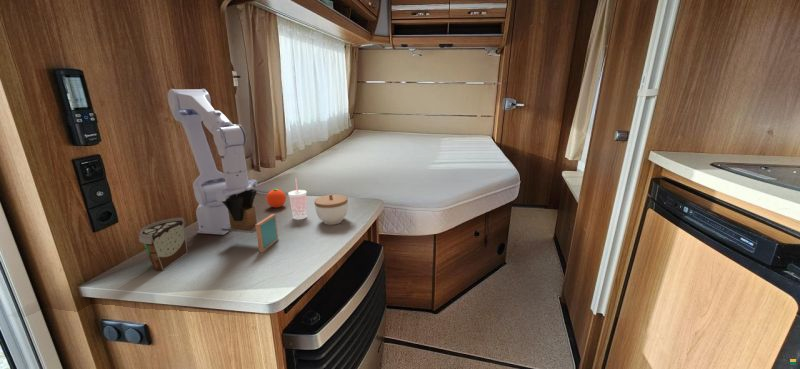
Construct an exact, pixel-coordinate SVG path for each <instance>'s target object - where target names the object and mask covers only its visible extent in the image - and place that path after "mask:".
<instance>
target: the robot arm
mask: <svg viewBox="0 0 800 369" xmlns="http://www.w3.org/2000/svg"><path fill="white" fill-rule="evenodd" d="M167 102H168V106H169V109H170V112H171V115H172V116H173V118H174V120H175V121H177V122H179V123H180V124H181V125H182V128H183V130H184V132H185V136H186V139H187V141H188V144H189V146H190V150H191V152H192V155H193V158H194V161H195V165H196V168H197V170H198V172H199V175H198V176H197V177H196V178H195V180H194V181H193V183H192V187H193V194H194V198H195V200H196V202H197V204H198V205H197V208H196V210H195V214H196V220H197V225H198V231H197V233H198V234H206V235H207V234H209V235H221V236H223V235H226V234H227V233H229V232H230V231H224V230H222V229H221V228H223V227H225V226H227V225H229V224H230V219H229V213H228V210H229V211H230V213H231V215H232V217H233V219H234V221H242V206H253V205H254V200H255V197H256V195H257V189H253V188H257V187H258V185H259V184H258V179H249V175H248V168H247V161H246V154H245V148H244V147H245V146H246V144H247V134H246V131H245V129H244V128H243V126H242V125H241V124H234V123H232V121H231V120H229V118H228V117H227V116H226V115H225V114H224V113H223V112H222V111H220V110H215V108H214V107H213V106H212V104H211V103H212V100H211V96H210V94H209V92H208V91H207V90H206V88H201V89H197V88H196V89H189V88H188V89H184V88H182V89H178V88H177V89H174V88H170V89H169V90H168V91H167ZM202 122H203V125H204V127H205V128H206V129H207V130H208V131H209V133H211V134H212V136H213V141H214V145H215V146H216V149H217V153H218V155H219V156H220V158H221V164H222V170H223V172H222V171H219V170H218V168H217V166H216V163H215V159H214V157H213V154H212V152H211V148H210V145H209V143H208V140H207V136H206V134H205V131H204V128H203V126H202Z"/></svg>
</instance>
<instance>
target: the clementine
mask: <svg viewBox="0 0 800 369" xmlns="http://www.w3.org/2000/svg"><path fill="white" fill-rule="evenodd" d="M286 198H287V196H286V194H285V192H284V191H282V190H281V189H279V188H274V189H271V190H270V191H269V192H268V193H267V194H266V202H267V205H269V206H270V207H272V208H275V209H276V208H281V207H282V206H283V205H285V203H286Z"/></svg>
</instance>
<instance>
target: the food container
mask: <svg viewBox="0 0 800 369" xmlns="http://www.w3.org/2000/svg"><path fill="white" fill-rule="evenodd" d="M185 225H186V221H185V219H184V218H183V217H174V218H168V219H164V220H159V221H156V222H153V223H150V224H148V225H146V226H144V227H142V228H141V230H140V231H139V235H138V236H139V238H138V241H139V242H140V243H141V244H143V245H144V248H145V250H146V253H147V255H148V258H149V260H150V263H151V266H152V269H153V270H154V271H158V272H159V271H160V272H164V271H165V270H167V269H168V268H169V267H171V266H172V265H173V264H175V263H176V262H177V261H179V260H181V259H182V258H183V257H184V256H186V255H187V254H189V252H188V246H187V244H188V243H187V238H186V237H187V236H186V230H185Z"/></svg>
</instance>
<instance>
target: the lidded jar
mask: <svg viewBox="0 0 800 369" xmlns="http://www.w3.org/2000/svg"><path fill="white" fill-rule="evenodd" d="M348 201H349V200H348V197H347V195H342V194H333V193H332V194H331V193H329V194H327V195H326V194H325V195H322V196H319V197H316V199H315V200H314V201H313V202H314V206H315V212H316V215H317V217H318V219H319V220H320V221H321V222H323V223H324V225H337V224H340V223H342V222H343V220H344V219H345V217H346V216H347V213H348V207H349V206H348V204H349V203H348Z"/></svg>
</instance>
